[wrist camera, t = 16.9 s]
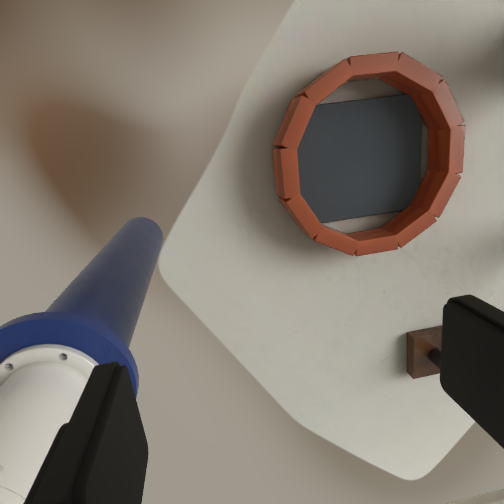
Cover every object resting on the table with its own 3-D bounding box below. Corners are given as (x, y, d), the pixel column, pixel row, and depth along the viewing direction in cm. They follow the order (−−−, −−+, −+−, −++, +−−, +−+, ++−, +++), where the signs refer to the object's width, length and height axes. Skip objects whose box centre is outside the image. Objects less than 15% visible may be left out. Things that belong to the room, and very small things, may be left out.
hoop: (282, 257, 39) (290, 267, 36) (264, 72, 33) (271, 64, 30) (438, 231, 41) (459, 239, 38) (445, 53, 36) (470, 43, 32)
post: (406, 372, 47) (427, 394, 43) (407, 332, 45) (429, 351, 41) (448, 363, 48) (473, 384, 43) (450, 323, 46) (476, 341, 41)
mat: (298, 225, 39) (299, 226, 38) (288, 108, 35) (289, 107, 35) (416, 207, 40) (419, 207, 40) (419, 93, 37) (422, 92, 36)
